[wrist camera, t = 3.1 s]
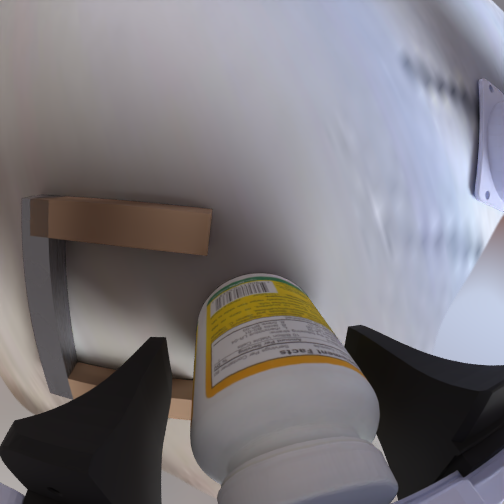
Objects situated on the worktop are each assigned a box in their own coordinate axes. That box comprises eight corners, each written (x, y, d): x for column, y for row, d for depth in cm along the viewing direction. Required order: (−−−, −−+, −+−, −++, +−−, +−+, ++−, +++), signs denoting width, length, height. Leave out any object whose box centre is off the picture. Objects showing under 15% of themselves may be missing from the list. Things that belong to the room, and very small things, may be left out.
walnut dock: (212, 208, 11) (211, 214, 10) (195, 400, 14) (194, 420, 12) (40, 194, 10) (21, 198, 9) (59, 376, 13) (50, 392, 11)
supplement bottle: (232, 248, 12) (288, 450, 3) (332, 300, 13) (463, 452, 4) (177, 346, 13) (157, 544, 4) (273, 383, 14) (327, 548, 5)
